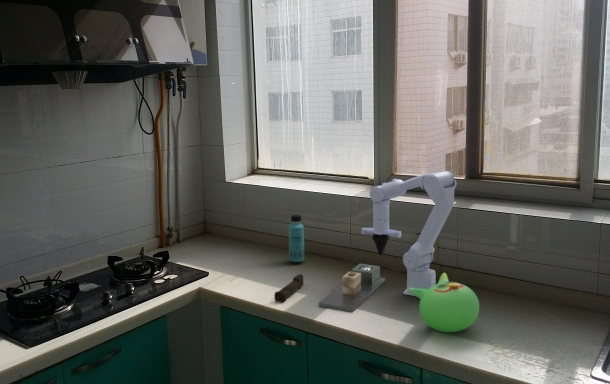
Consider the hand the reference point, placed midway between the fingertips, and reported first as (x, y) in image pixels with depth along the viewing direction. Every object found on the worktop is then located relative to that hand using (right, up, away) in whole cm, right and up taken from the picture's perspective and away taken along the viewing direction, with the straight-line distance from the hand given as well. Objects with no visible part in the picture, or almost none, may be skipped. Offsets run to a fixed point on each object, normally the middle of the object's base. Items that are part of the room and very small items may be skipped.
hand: (381, 254), depth 205 cm
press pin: (-6, -9, +1) cm, 11 cm away
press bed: (-11, -12, -9) cm, 19 cm away
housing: (-12, -12, -11) cm, 20 cm away
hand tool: (-33, -13, -7) cm, 36 cm away
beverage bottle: (-31, -6, +25) cm, 41 cm away
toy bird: (+14, -18, -38) cm, 44 cm away
